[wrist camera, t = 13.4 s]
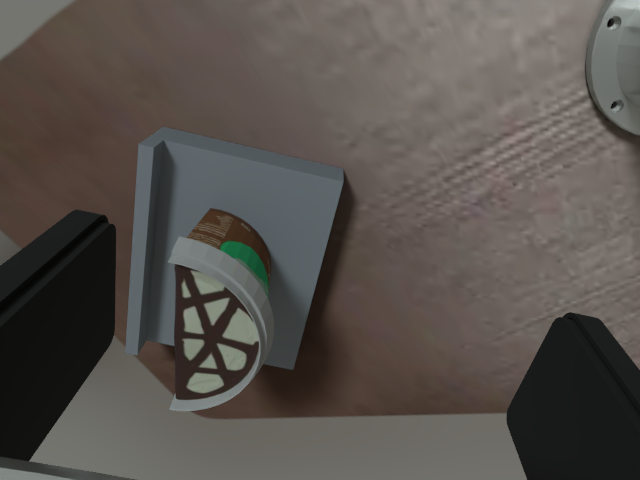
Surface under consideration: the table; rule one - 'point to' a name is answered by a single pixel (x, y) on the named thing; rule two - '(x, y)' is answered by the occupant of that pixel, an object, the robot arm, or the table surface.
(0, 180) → the table surface
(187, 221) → the stand
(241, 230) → the food container
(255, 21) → the table surface
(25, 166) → the table surface
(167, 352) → the table surface
